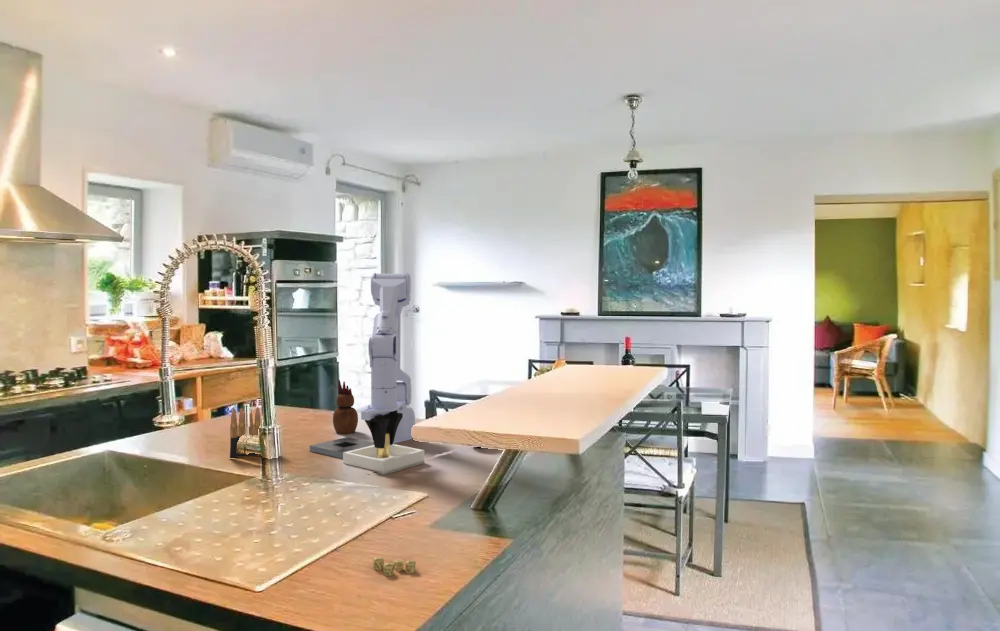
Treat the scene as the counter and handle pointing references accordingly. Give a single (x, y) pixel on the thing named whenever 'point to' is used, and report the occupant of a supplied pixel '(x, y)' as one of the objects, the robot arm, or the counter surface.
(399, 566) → the dice set
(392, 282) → the robot arm
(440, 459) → the counter surface
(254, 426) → the ammunition clip
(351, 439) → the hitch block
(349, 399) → the wooden figurine
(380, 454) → the gold upright block
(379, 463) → the tray
